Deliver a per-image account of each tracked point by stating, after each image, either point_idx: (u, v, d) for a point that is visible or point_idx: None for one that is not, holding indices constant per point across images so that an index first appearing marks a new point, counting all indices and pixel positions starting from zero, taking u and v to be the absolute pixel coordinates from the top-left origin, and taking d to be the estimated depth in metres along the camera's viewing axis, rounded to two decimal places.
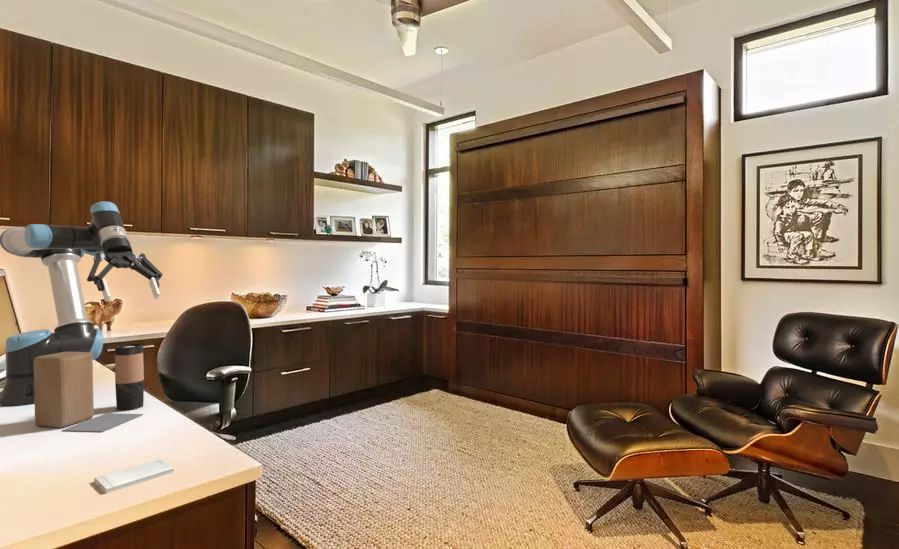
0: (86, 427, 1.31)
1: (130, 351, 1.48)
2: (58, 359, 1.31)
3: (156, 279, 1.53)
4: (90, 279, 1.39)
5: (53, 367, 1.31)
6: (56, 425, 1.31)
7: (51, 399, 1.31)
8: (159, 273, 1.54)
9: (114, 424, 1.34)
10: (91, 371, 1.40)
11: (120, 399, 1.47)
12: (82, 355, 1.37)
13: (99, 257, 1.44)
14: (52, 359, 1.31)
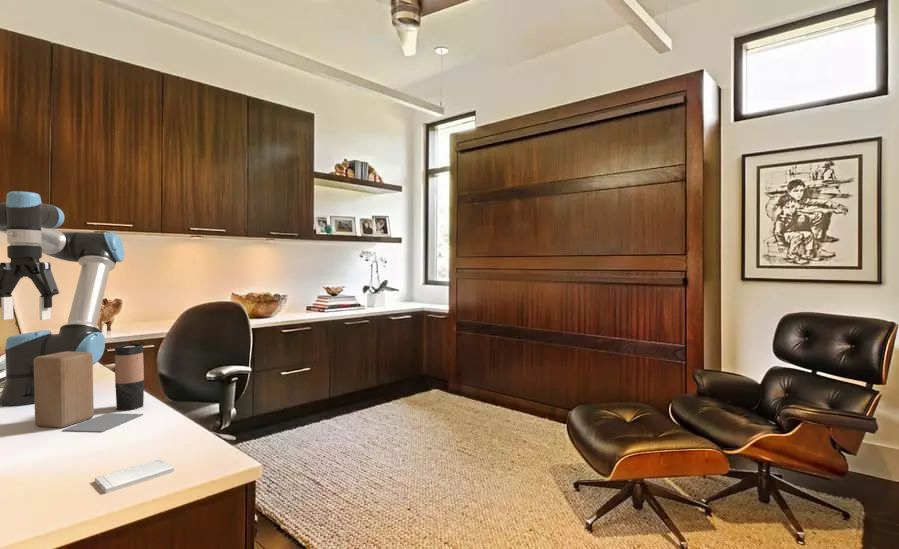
0: (86, 427, 1.31)
1: (130, 351, 1.48)
2: (58, 359, 1.31)
3: (46, 298, 1.36)
4: None
5: (53, 367, 1.31)
6: (56, 425, 1.31)
7: (51, 399, 1.31)
8: (48, 291, 1.36)
9: (114, 424, 1.34)
10: (91, 371, 1.40)
11: (120, 399, 1.47)
12: (82, 355, 1.37)
13: (2, 269, 1.37)
14: (52, 359, 1.31)
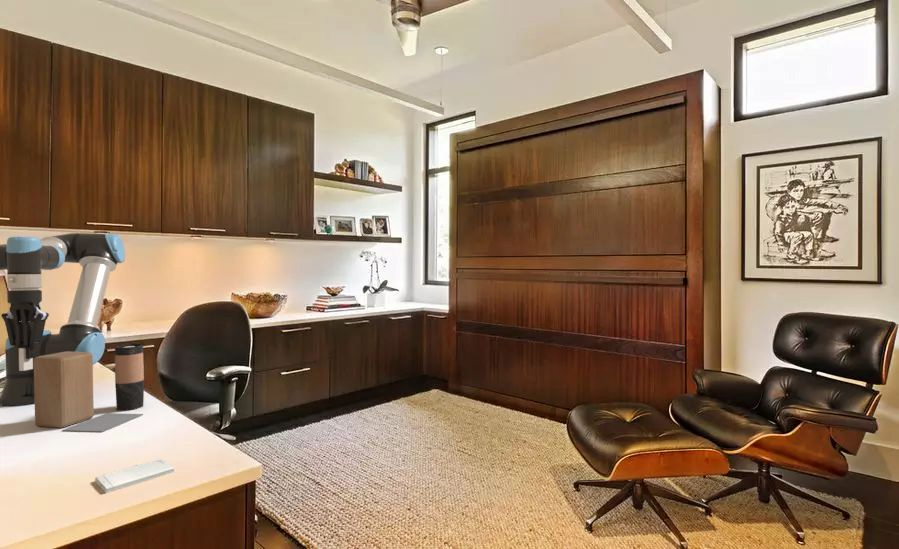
0: (86, 427, 1.31)
1: (130, 351, 1.48)
2: (58, 359, 1.31)
3: (28, 349, 1.37)
4: None
5: (53, 367, 1.31)
6: (56, 425, 1.31)
7: (51, 399, 1.31)
8: (31, 342, 1.36)
9: (114, 424, 1.34)
10: (91, 371, 1.40)
11: (120, 399, 1.47)
12: (82, 355, 1.37)
13: (6, 319, 1.37)
14: (52, 359, 1.31)
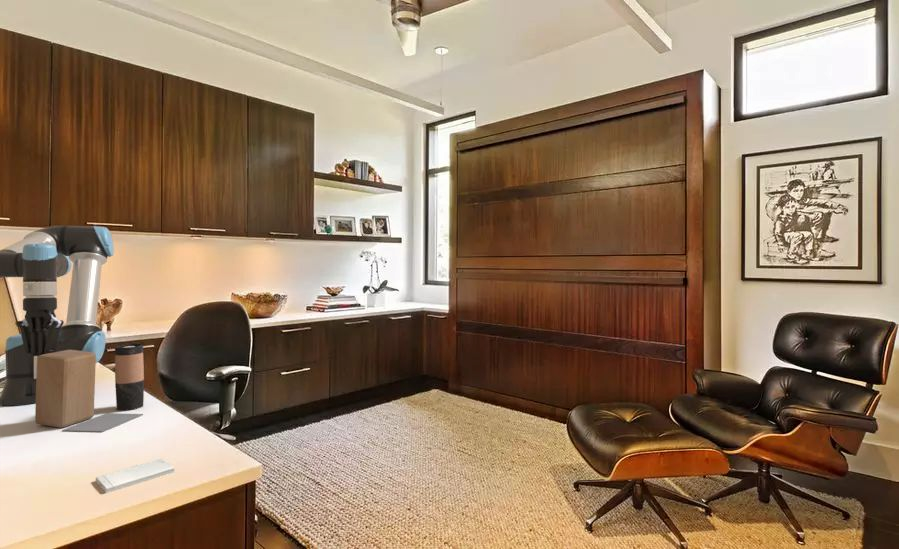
0: (86, 427, 1.31)
1: (130, 351, 1.48)
2: (62, 359, 1.31)
3: None
4: None
5: (56, 367, 1.31)
6: (56, 425, 1.31)
7: (53, 398, 1.31)
8: (45, 350, 1.35)
9: (114, 424, 1.34)
10: (94, 371, 1.39)
11: (120, 399, 1.47)
12: (86, 355, 1.37)
13: (21, 326, 1.36)
14: (56, 359, 1.31)
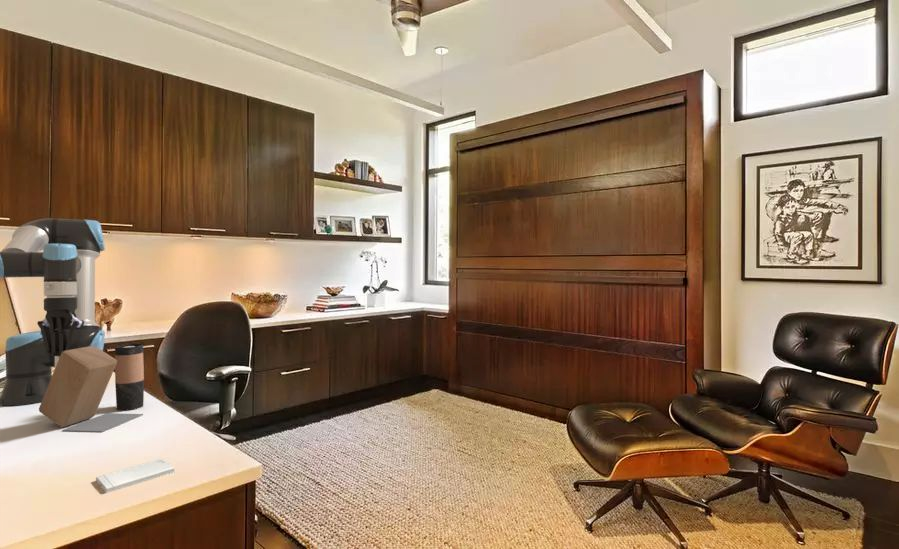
0: (86, 427, 1.31)
1: (130, 351, 1.48)
2: (85, 366, 1.29)
3: None
4: None
5: (77, 371, 1.29)
6: (58, 423, 1.31)
7: (63, 398, 1.31)
8: None
9: (114, 424, 1.34)
10: (109, 377, 1.38)
11: (120, 399, 1.47)
12: (107, 363, 1.35)
13: (42, 326, 1.35)
14: (79, 363, 1.30)
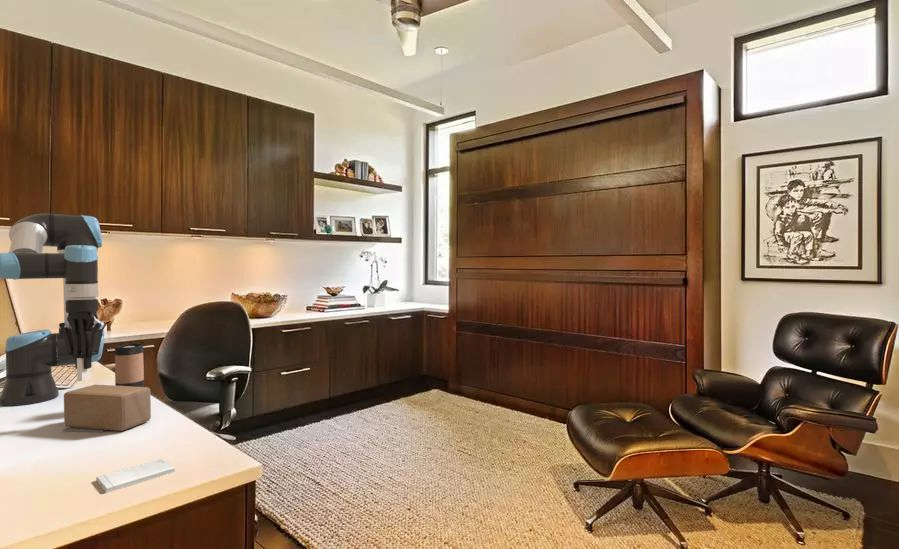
0: None
1: (130, 351, 1.48)
2: (121, 428, 1.28)
3: (86, 359, 1.35)
4: None
5: (113, 423, 1.28)
6: (65, 421, 1.31)
7: (86, 417, 1.29)
8: (89, 352, 1.34)
9: None
10: None
11: None
12: None
13: (63, 328, 1.35)
14: (121, 421, 1.27)
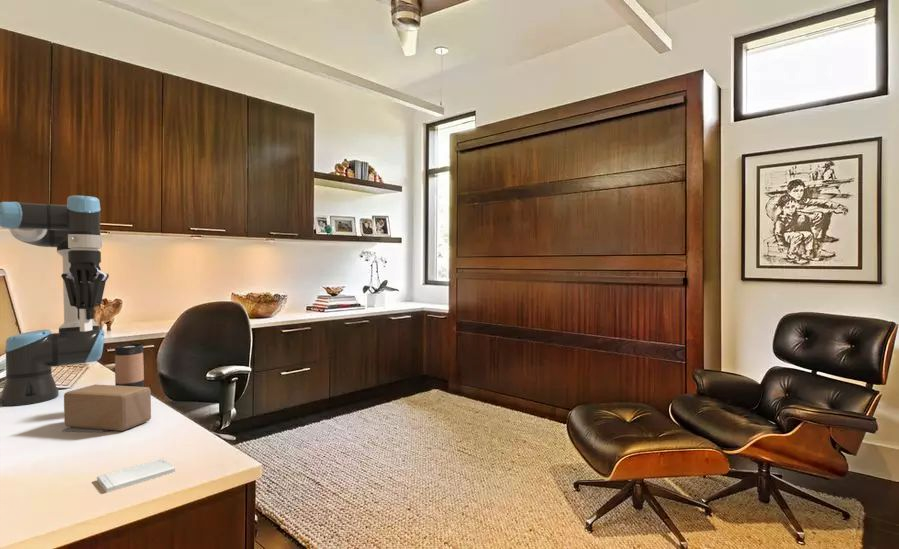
0: None
1: (130, 351, 1.48)
2: (122, 428, 1.28)
3: (88, 310, 1.35)
4: None
5: (114, 423, 1.28)
6: (65, 421, 1.31)
7: (86, 417, 1.30)
8: (92, 303, 1.35)
9: None
10: None
11: None
12: None
13: (66, 279, 1.35)
14: (121, 420, 1.28)
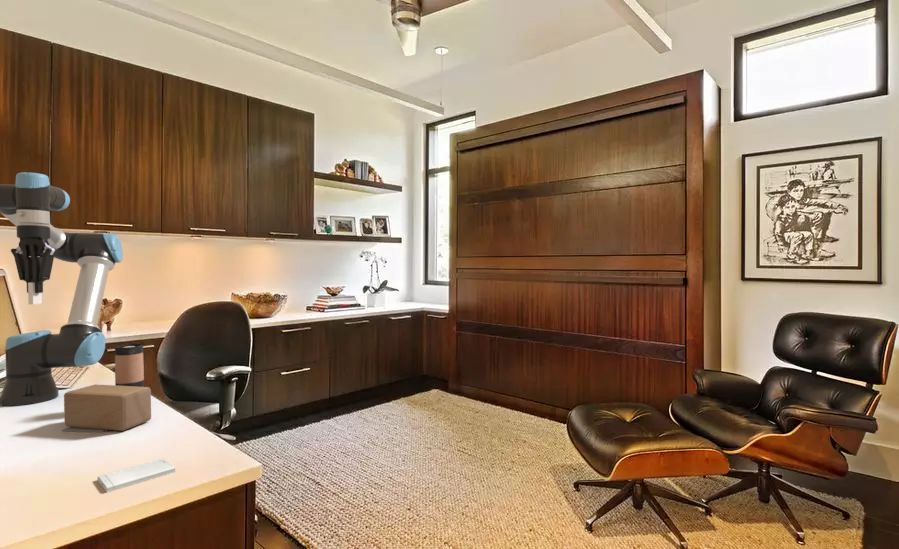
0: None
1: (130, 351, 1.48)
2: (122, 427, 1.28)
3: (37, 283, 1.39)
4: None
5: (114, 422, 1.28)
6: (65, 421, 1.31)
7: (87, 417, 1.30)
8: (40, 276, 1.39)
9: None
10: None
11: None
12: None
13: (15, 253, 1.39)
14: (121, 420, 1.28)
